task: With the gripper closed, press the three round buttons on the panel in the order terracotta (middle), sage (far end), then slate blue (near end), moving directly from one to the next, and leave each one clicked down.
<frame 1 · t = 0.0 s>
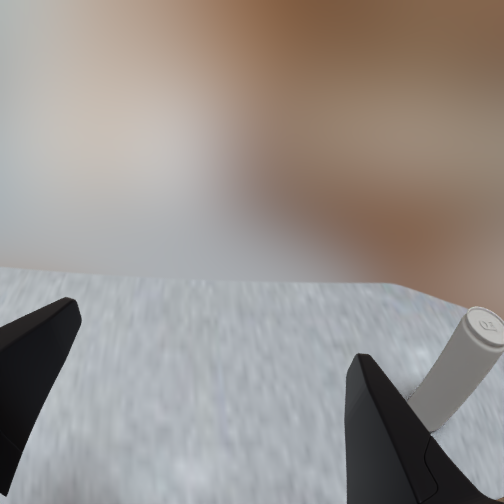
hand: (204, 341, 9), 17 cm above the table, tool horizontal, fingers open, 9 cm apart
beverage can: (422, 416, 23), on the table
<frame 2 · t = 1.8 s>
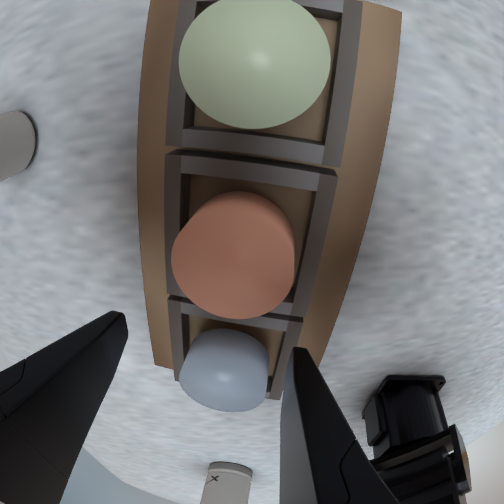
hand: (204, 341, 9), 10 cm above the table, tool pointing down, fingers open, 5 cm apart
slate button: (225, 372, 17), point 5 cm above the table, slide at 0.0 cm
button panel: (250, 215, 17), on the table
beverage can: (21, 139, 17), on the table
terracotta button: (235, 255, 13), point 5 cm above the table, slide at 0.0 cm
travel mug: (229, 468, 36), on the table
sage button: (256, 61, 9), point 5 cm above the table, slide at 0.0 cm
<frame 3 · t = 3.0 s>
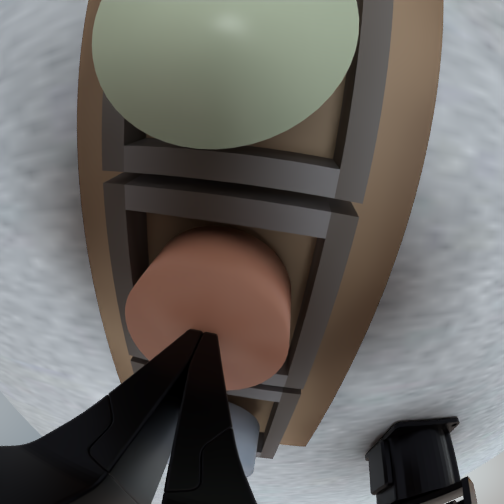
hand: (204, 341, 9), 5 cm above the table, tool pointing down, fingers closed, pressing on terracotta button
slate button: (206, 441, 13), point 5 cm above the table, slide at 0.0 cm
button panel: (233, 255, 13), on the table
terracotta button: (212, 313, 10), point 4 cm above the table, slide at 0.9 cm, touching gripper
sage button: (226, 31, 5), point 5 cm above the table, slide at 0.0 cm
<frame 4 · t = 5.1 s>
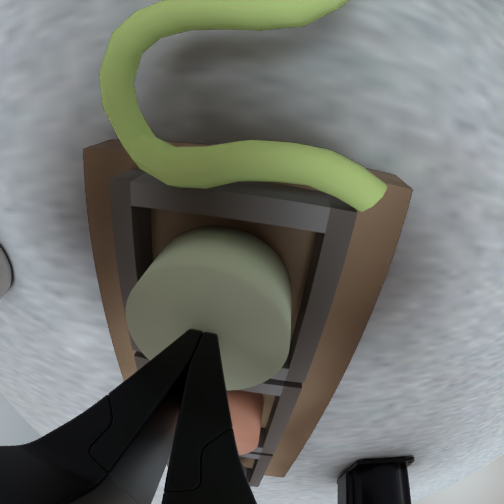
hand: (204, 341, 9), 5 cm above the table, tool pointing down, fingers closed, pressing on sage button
slate button: (209, 479, 17), point 5 cm above the table, slide at 0.0 cm
button panel: (225, 369, 17), on the table
terracotta button: (213, 416, 14), point 3 cm above the table, slide at 1.3 cm
sage button: (212, 313, 10), point 4 cm above the table, slide at 0.5 cm, touching gripper
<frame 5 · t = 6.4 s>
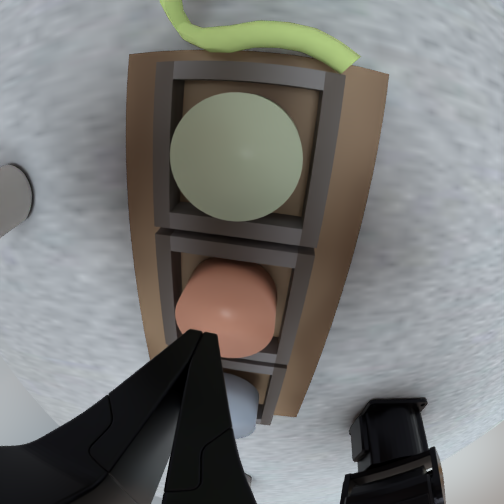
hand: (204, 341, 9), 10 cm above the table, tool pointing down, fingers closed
slate button: (220, 407, 19), point 5 cm above the table, slide at 0.0 cm
button panel: (238, 272, 19), on the table
beverage can: (18, 190, 18), on the table
terracotta button: (228, 308, 16), point 3 cm above the table, slide at 1.3 cm
sage button: (239, 153, 12), point 4 cm above the table, slide at 1.2 cm
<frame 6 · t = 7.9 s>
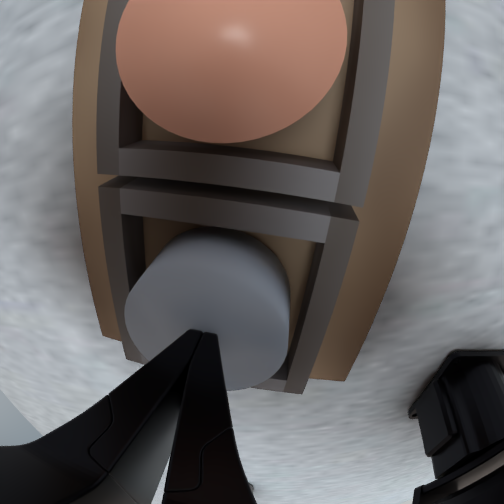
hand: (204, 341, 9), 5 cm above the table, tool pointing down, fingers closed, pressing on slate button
slate button: (211, 313, 10), point 4 cm above the table, slide at 1.1 cm, touching gripper
button panel: (251, 59, 9), on the table
terracotta button: (233, 40, 6), point 3 cm above the table, slide at 1.3 cm
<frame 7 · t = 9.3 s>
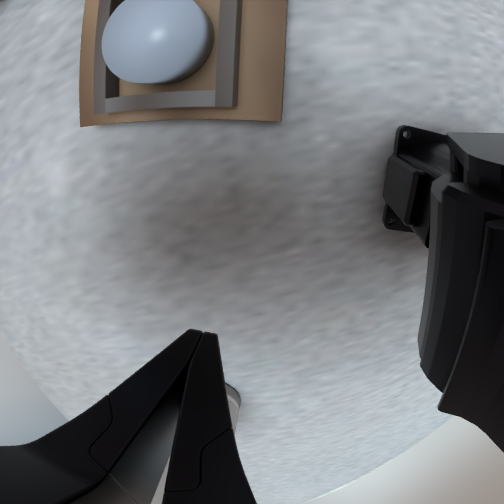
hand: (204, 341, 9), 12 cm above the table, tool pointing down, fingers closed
slate button: (157, 36, 11), point 3 cm above the table, slide at 1.3 cm
travel mug: (209, 393, 29), on the table
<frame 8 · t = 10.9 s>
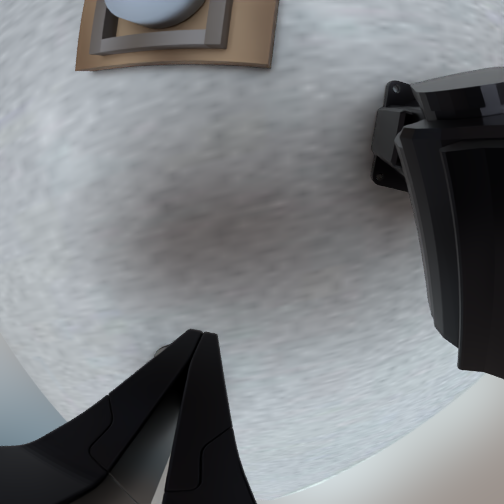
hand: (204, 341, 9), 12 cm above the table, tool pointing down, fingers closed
travel mug: (184, 365, 28), on the table
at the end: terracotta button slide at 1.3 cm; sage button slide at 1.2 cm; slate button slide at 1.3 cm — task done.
